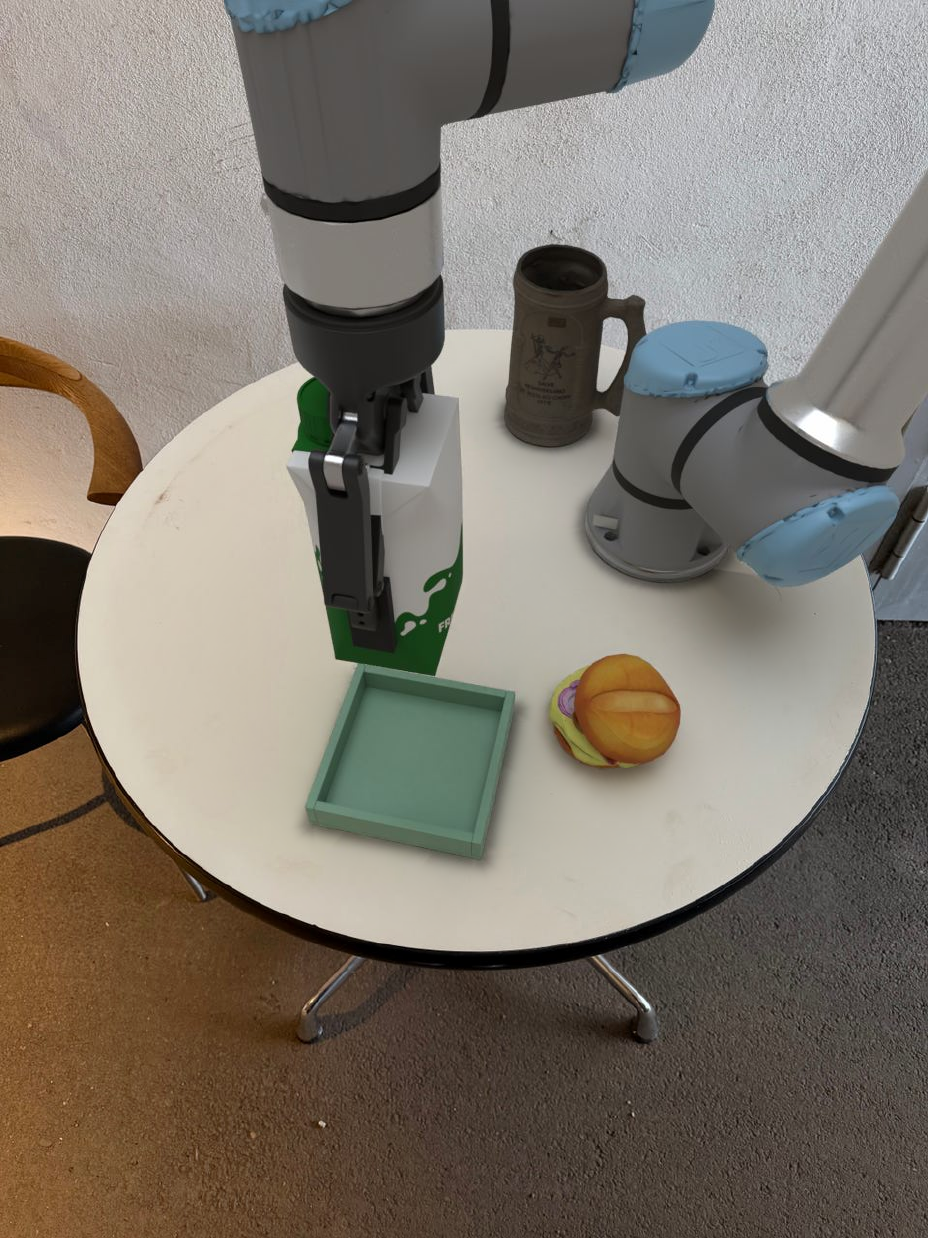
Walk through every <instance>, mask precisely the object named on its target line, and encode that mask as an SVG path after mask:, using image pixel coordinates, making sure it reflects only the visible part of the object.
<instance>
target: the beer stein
mask: <svg viewBox="0 0 928 1238" xmlns="http://www.w3.org/2000/svg"><path fill="white" fill-rule="evenodd" d="M512 287H513V297H514V298H513V299H514V306H513V322H512V333H511V341H510V342H511V343H510V354H509V367H508V380H507V382H508V383H507V386H506V388H505V393H504V394H505V396H504V398H505V405H504V410H503V420H504V422H505V425H506V427H507V429H508V430H509V431H510V433H511V434H513V435H514V436H515V437H516V438H519V439H520V440H522V441H523V442H526V443H530V444H533V445H536V446H543V447H560V446H564V445H570V444H573V443H575V442H577V441H578V440H580V439H581V438H582V437H584V436H585V435H586V434H587V433H588V431H589V429H590V428H591V426H592V422H593V415H594V414H593V412H594V411H595V410H605V411H607V412H609V413H610V414H612V415H613V416H615V417H618V418H619V416H620V410H621V403H622V396H623V390H624V377H625V375H626V373H627V371H628V368H629V364H630V360H631V355H632V352H633V350H634V348H635V346H636V345H637V343H638V342H639V341H640V340H641V339H642V338H643V337H644V336H645V335H647V330H646V329H647V328H646V323H645V317H644V316H645V315H644V314H645V308H646V304H647V302H646V300H645V299H644V298H643V297H642V296H639V295H637V294H631V295H630V296H628V297H626V298H611V297H609V295H608V294H609V280H608V269H607V266H606V264H605V262H604V261H603V259H602V258H601V257H599V256H598V255H596V254H595V252H592V251H589V250H587V249H585V248H582V247H580V246H575V245H569V244H558V243H549V244H545V245H540V246H536V247H533V248H530V249H529V250H527V251H525V252H524V253H523V254H522V255H521V256H520V257H519V258H518V260H517V263H516V267H515V271H514V273H513V277H512ZM609 318H612V319H617V320H621V321H622V322H623V324H624V325H625V327H626V330H627V344H626V350H625V353H624V356H623V360H622V362H621V364H620V367H619V368H618V370H617V373H616V374H615V377H614V378H613V380H612V382H611V383H610V385H609V386H608V387H607V388H606V390H603V391H599V390H598V375H599V367H600V356H601V349H602V341H603V340H602V339H603V331H604V321H606V320H608V319H609Z"/></svg>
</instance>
